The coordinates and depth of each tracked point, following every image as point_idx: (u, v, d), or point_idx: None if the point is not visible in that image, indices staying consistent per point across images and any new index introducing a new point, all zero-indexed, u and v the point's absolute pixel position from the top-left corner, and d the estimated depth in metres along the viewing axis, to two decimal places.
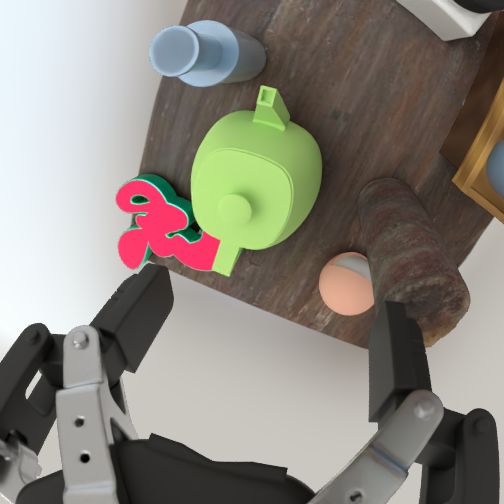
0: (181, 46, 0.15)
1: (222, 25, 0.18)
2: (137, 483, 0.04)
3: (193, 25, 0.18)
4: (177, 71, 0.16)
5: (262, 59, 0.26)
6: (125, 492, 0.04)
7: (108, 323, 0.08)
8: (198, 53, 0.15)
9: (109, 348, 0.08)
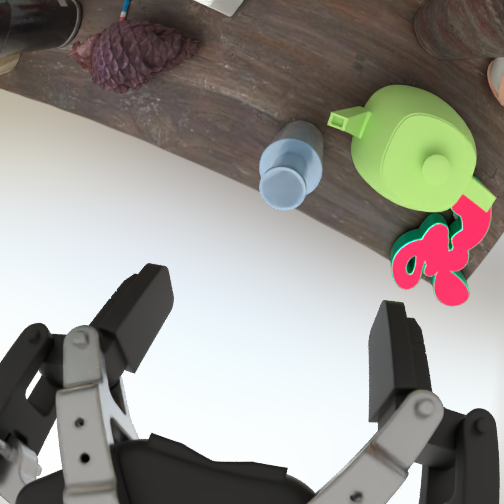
0: (280, 181, 0.22)
1: (266, 149, 0.26)
2: (137, 483, 0.04)
3: (262, 173, 0.27)
4: (302, 188, 0.22)
5: (304, 123, 0.32)
6: (125, 492, 0.04)
7: (108, 323, 0.08)
8: (289, 168, 0.22)
9: (109, 348, 0.08)
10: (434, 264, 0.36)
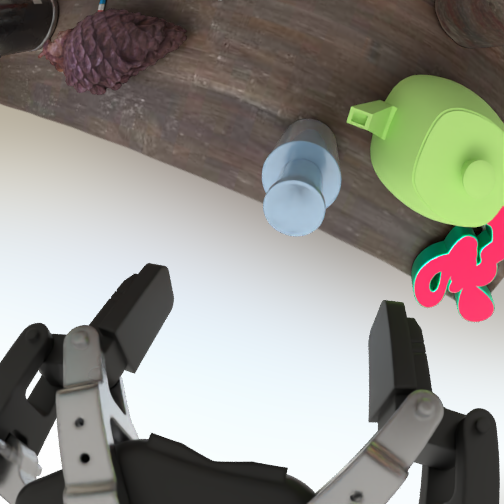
0: (290, 199, 0.17)
1: (270, 155, 0.21)
2: (137, 483, 0.04)
3: (266, 185, 0.22)
4: (320, 208, 0.17)
5: (313, 122, 0.27)
6: (125, 492, 0.04)
7: (108, 323, 0.08)
8: (303, 181, 0.16)
9: (109, 348, 0.08)
10: (460, 280, 0.30)
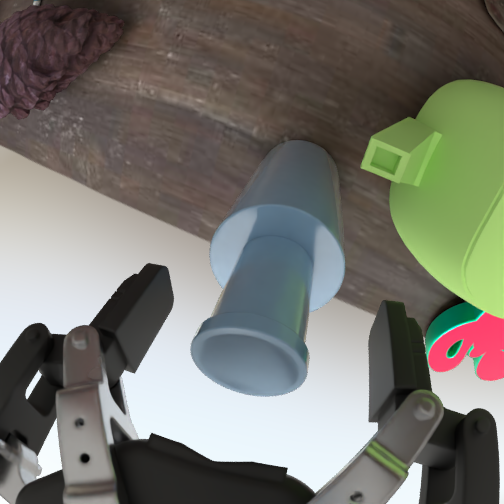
0: (239, 354, 0.08)
1: (221, 228, 0.12)
2: (137, 483, 0.04)
3: (218, 273, 0.13)
4: (297, 370, 0.08)
5: (304, 147, 0.18)
6: (125, 492, 0.04)
7: (108, 323, 0.08)
8: (261, 331, 0.08)
9: (109, 348, 0.08)
10: (484, 345, 0.22)
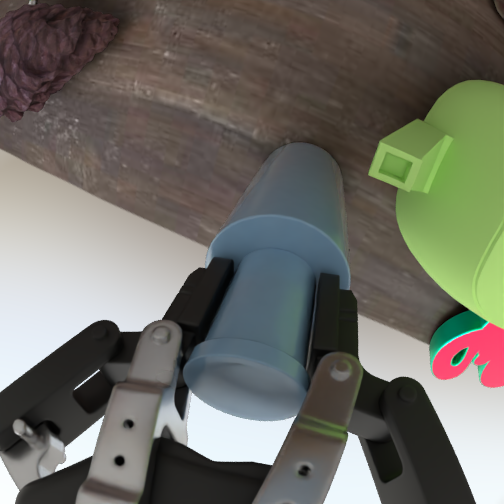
0: (235, 381, 0.07)
1: (217, 239, 0.11)
2: (163, 499, 0.04)
3: None
4: (297, 399, 0.07)
5: (306, 150, 0.17)
6: None
7: (188, 317, 0.09)
8: (258, 360, 0.07)
9: (190, 343, 0.08)
10: (489, 353, 0.21)
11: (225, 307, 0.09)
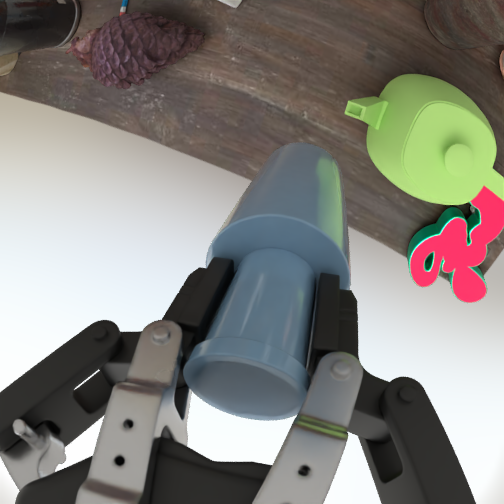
0: (235, 381, 0.07)
1: (218, 239, 0.11)
2: (163, 499, 0.04)
3: None
4: (297, 398, 0.07)
5: (307, 150, 0.17)
6: None
7: (188, 317, 0.09)
8: (259, 359, 0.07)
9: (190, 343, 0.08)
10: (452, 260, 0.34)
11: (225, 306, 0.09)
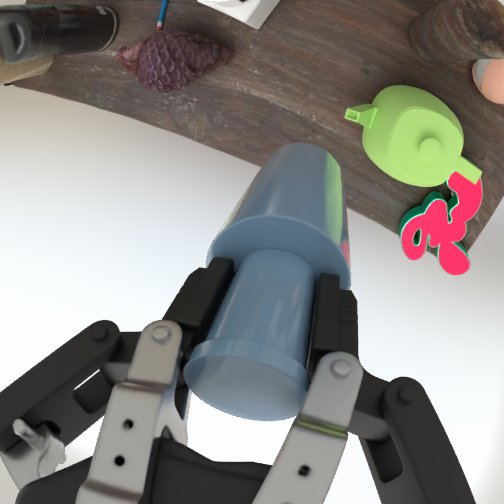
0: (235, 381, 0.07)
1: (218, 239, 0.11)
2: (163, 499, 0.04)
3: None
4: (297, 399, 0.07)
5: (307, 150, 0.17)
6: None
7: (188, 317, 0.09)
8: (259, 360, 0.07)
9: (190, 343, 0.08)
10: (437, 236, 0.42)
11: (226, 307, 0.09)
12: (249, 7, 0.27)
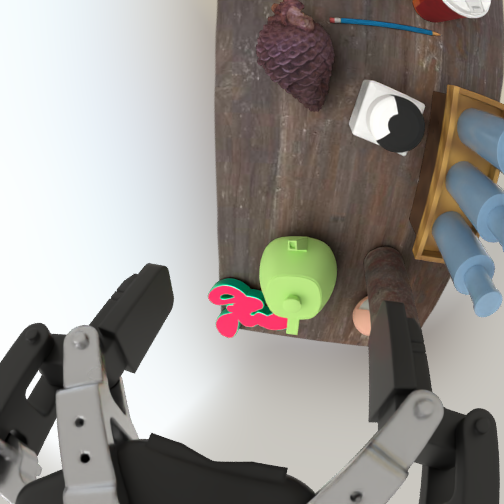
0: None
1: None
2: (137, 483, 0.04)
3: (498, 153, 0.20)
4: None
5: None
6: (125, 492, 0.04)
7: (108, 323, 0.08)
8: None
9: (109, 348, 0.08)
10: (236, 309, 0.62)
11: None
12: (368, 136, 0.34)
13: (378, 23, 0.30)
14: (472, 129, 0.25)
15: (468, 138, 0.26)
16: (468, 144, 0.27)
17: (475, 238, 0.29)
